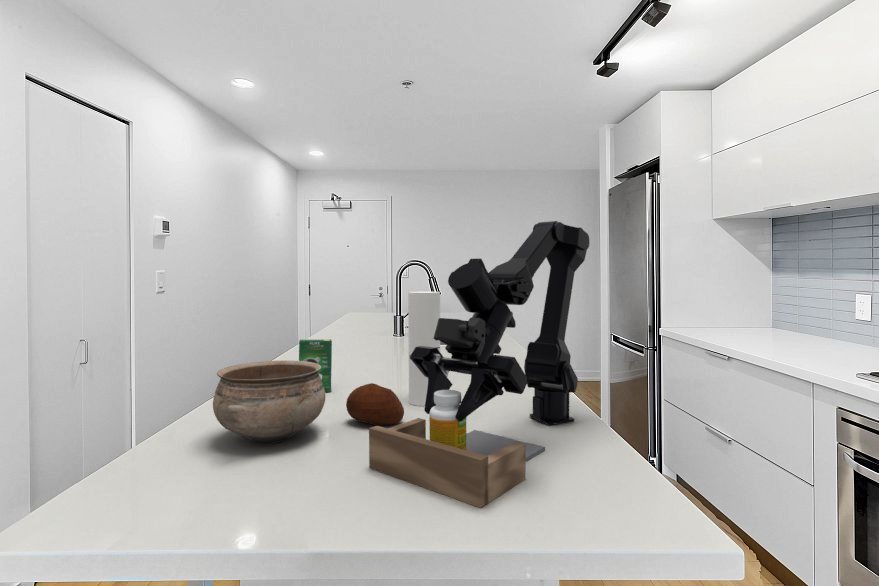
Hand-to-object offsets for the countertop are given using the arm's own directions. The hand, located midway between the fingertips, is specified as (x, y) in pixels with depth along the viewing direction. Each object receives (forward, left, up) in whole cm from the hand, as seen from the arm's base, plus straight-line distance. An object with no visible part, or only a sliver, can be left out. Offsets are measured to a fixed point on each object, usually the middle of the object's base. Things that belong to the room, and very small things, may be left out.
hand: (441, 416), depth 71 cm
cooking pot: (+21, -28, -9) cm, 36 cm away
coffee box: (+8, -59, -9) cm, 60 cm away
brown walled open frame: (-1, -1, -9) cm, 9 cm away
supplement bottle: (-1, -1, -7) cm, 7 cm away
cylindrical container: (-13, -39, -9) cm, 42 cm away
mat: (-11, -6, -9) cm, 15 cm away
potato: (+2, -28, -9) cm, 29 cm away
